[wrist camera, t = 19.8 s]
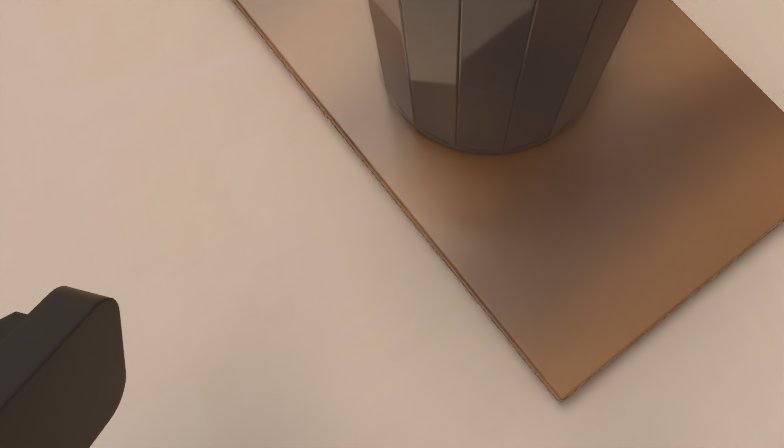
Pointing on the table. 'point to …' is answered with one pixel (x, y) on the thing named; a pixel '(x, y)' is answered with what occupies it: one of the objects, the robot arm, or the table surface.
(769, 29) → the table surface
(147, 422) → the table surface
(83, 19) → the table surface
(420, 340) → the table surface
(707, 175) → the plate
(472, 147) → the open gray tube
